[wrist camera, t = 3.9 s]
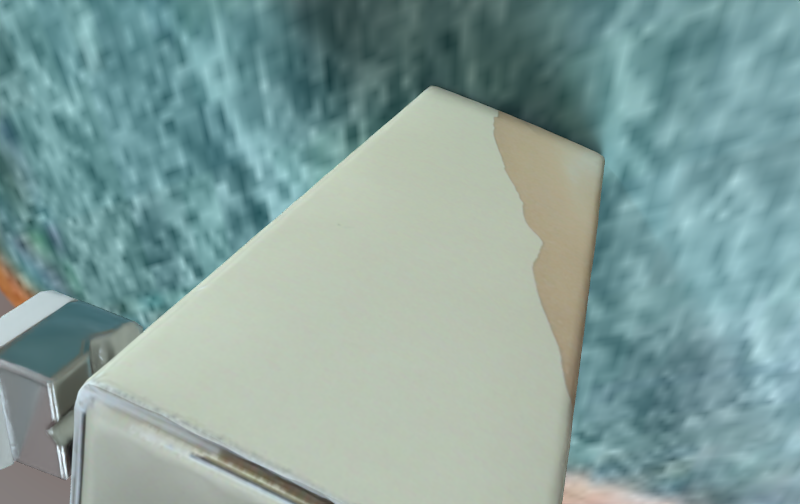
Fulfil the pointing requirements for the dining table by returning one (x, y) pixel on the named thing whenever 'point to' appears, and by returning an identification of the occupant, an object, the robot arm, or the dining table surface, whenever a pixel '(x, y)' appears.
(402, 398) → the box
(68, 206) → the dining table surface
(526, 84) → the dining table surface
